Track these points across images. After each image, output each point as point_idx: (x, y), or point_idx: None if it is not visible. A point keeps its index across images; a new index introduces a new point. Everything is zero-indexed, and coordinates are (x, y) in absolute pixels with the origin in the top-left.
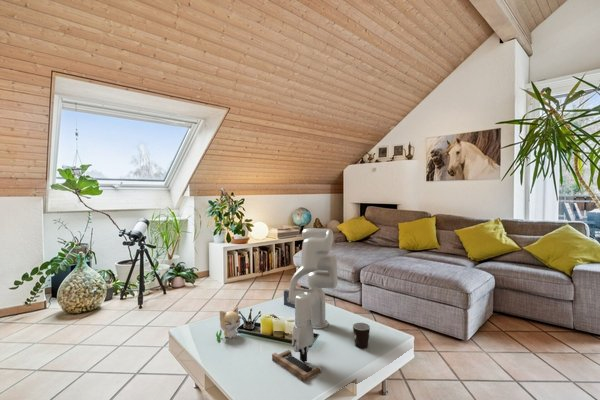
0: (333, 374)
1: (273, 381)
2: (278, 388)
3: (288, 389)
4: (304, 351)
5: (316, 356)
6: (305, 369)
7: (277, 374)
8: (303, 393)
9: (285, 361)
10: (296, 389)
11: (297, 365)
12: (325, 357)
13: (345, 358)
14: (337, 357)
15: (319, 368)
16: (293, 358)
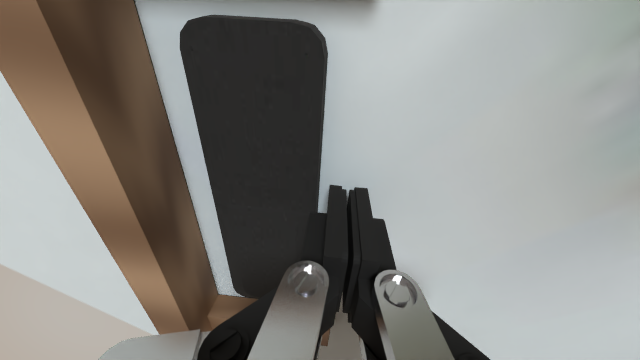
0: (359, 356)
1: (9, 199)
2: (39, 256)
3: (96, 289)
4: (352, 314)
5: (503, 228)
6: (251, 296)
7: (52, 163)
8: (156, 332)
9: (87, 182)
10: (136, 308)
11: (239, 228)
12: (519, 279)
13: (559, 351)
14: (555, 324)
15: (326, 341)
16: (293, 112)
